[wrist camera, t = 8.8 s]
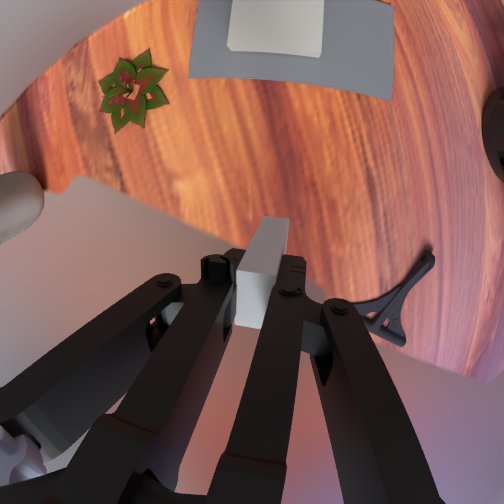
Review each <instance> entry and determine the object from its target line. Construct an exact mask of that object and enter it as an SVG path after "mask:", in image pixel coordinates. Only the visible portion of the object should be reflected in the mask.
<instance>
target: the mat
mask: <svg viewBox="0 0 504 504" xmlns="http://www.w3.org/2000/svg"><path fill="white" fill-rule="evenodd" d="M232 1H233V0H199V3H198V9H197V15H196V21H195V28H194V35H193V42H192V50H191V58H190V66H189V76H188V78H241V79H260V80H273V81H284V82H293V83H301V84H309V85H316V86H322V87H328V88H334V89H339V90H345V91H350V92H355V93H359V94H364V95H368V96H372V97H376V98H380V99H384V100H388V101H392V87H393V68H394V11H393V6H392V5H389V4H386V3H382V2H379V1H375V0H324V14H323V33H322V49H321V55H320V57H319V58H316V57H308V56H301V55H292V54H282V53H269V52H249V51H231V50H230V49H229V48H228V46H227V40H228V32H229V24H230V16H231V9H232Z"/></svg>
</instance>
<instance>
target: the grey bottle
mask: <svg viewBox="0 0 504 504" xmlns="http://www.w3.org/2000/svg"><path fill="white" fill-rule="evenodd" d="M43 207H44V192H43V189H42V187H41V185H40V183H39V181H38V180H37V179H36V178H35V177H34V176H33V175H31V174H30V173H27V172H24V171H13V172H8V173H5V174H2V175H0V245H1V244H2V243H4V242H5V241H7V240H9V239H11V238H12V237H14V236H16V235H18V234H20V233H21V232H23V231H25V230H26V229H27V228H29V227H30V226H31V225H32V224H33V223H34V222H35V221H36V220H37V219H38V218H39V216H40V214H41V212H42V210H43Z"/></svg>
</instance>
